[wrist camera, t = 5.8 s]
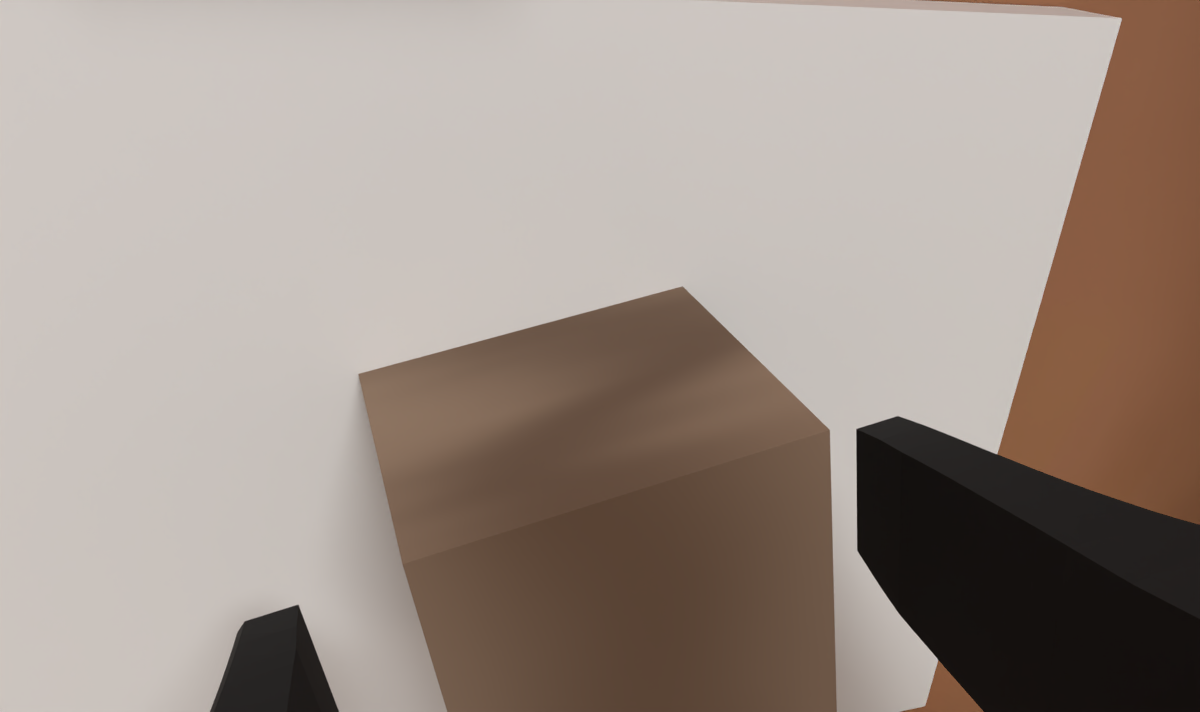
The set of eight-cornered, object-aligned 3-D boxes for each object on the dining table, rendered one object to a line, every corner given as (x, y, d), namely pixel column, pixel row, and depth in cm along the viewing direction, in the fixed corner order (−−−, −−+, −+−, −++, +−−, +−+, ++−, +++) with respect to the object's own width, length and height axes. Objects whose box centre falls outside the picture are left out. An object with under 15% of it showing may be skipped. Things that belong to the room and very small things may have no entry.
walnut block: (682, 286, 14) (830, 429, 10) (708, 538, 16) (837, 725, 12) (358, 373, 13) (402, 563, 9) (433, 629, 15) (492, 859, 12)
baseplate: (1062, 6, 15) (1122, 18, 14) (891, 664, 21) (925, 705, 20) (-207, -52, 10) (-256, -41, 9) (22, 835, 16) (8, 903, 15)
